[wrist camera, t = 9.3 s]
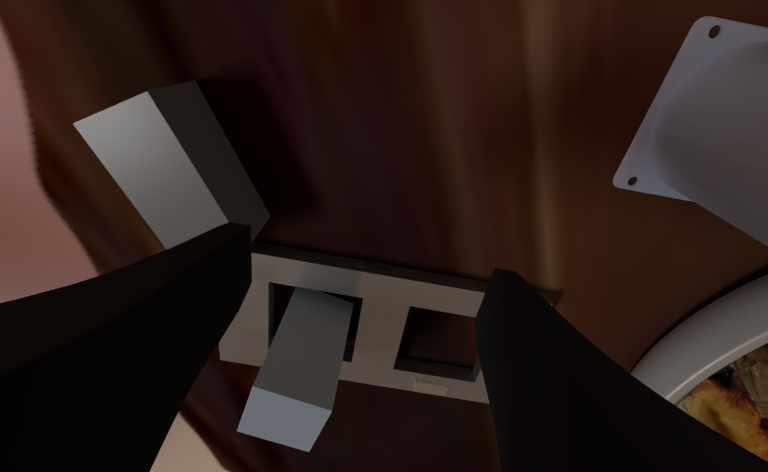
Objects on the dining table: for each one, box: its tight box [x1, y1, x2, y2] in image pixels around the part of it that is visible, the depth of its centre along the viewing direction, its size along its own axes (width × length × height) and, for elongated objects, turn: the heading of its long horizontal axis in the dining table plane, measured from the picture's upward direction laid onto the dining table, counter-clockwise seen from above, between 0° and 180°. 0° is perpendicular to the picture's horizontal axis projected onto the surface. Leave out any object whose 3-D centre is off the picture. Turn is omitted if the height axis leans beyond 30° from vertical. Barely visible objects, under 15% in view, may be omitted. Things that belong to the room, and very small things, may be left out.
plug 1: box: [73, 80, 271, 249], centre depth 19 cm, size 8×4×4 cm, turn 19°
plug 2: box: [237, 287, 354, 452], centre depth 22 cm, size 4×4×8 cm
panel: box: [219, 241, 553, 403], centre depth 25 cm, size 21×10×1 cm, turn 80°
